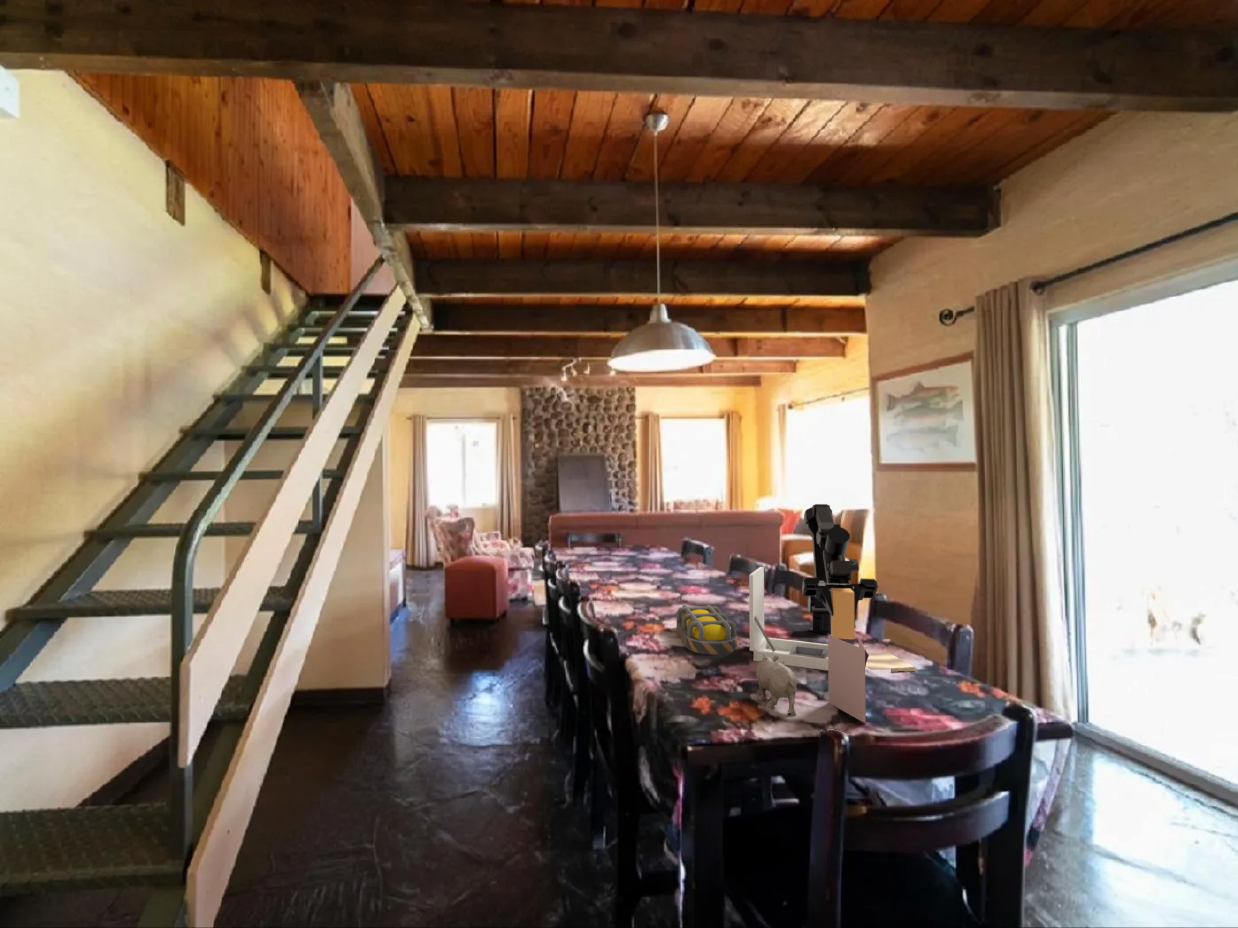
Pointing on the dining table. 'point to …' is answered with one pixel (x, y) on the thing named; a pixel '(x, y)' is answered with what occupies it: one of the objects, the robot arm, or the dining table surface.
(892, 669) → the wooden board
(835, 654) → the greeting card
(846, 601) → the block
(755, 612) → the equipment case
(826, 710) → the dining table surface
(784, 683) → the rhinoceros figurine
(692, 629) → the cage light
